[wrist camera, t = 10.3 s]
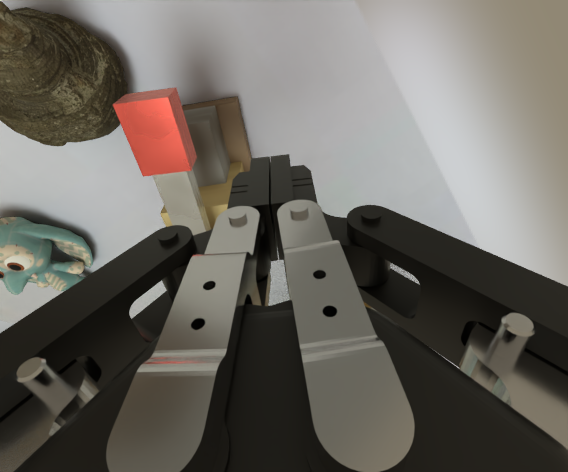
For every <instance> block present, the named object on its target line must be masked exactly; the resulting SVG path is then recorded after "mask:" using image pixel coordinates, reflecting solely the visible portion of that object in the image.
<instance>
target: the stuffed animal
mask: <svg viewBox="0 0 568 472" xmlns="http://www.w3.org/2000/svg"><path fill="white" fill-rule="evenodd" d="M52 242H53V243H54V244H55V246H56V247H57V248H58V249H60V250H61V251H63V252H65V253H66V254H68V255H70V256H72V257H73V258H75V259H76V260H78V261H79V262H78V261H72V262H63V263H62V262H58V261H54V260H50V257H51V251H52V244H53V243H52ZM92 264H93V258H92V254H91V249H90V248H89V246H88V245H87V243H86V242H85V240H84V239H83V238H82V237H80V236H77V235H75V234H74V233H73V232H71V231H70V230H66V229H61V228H57V227H53V226H50V225H43V224H35V223H33V222H31V221H28V220H26V219H24V218H22V217H3V218H0V280H2V281H3V282H4V284H5V286H6V288H7V290H8V291H10V292H11V293H12V294H15V295H18V294H19V293H21V292H22V291H23V288H24V287H25V285H26V283H27V282H32V283H37V286H38V287H41V288H44V287H48V286H49V284H50V285H51V286H52V287H53V288H54V289H56V290H59V291H64V290H67V289H69V288H70V287H72V286H73V285H75V284H76V283H78V282H80V281H81V280H83V279H84V278H85V277H80V276H79V275H78V274H81V273H82V272H83V270H84V267H85V266H84V265H86V266H87V267H89V268H90V267H91V266H92Z"/></svg>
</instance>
